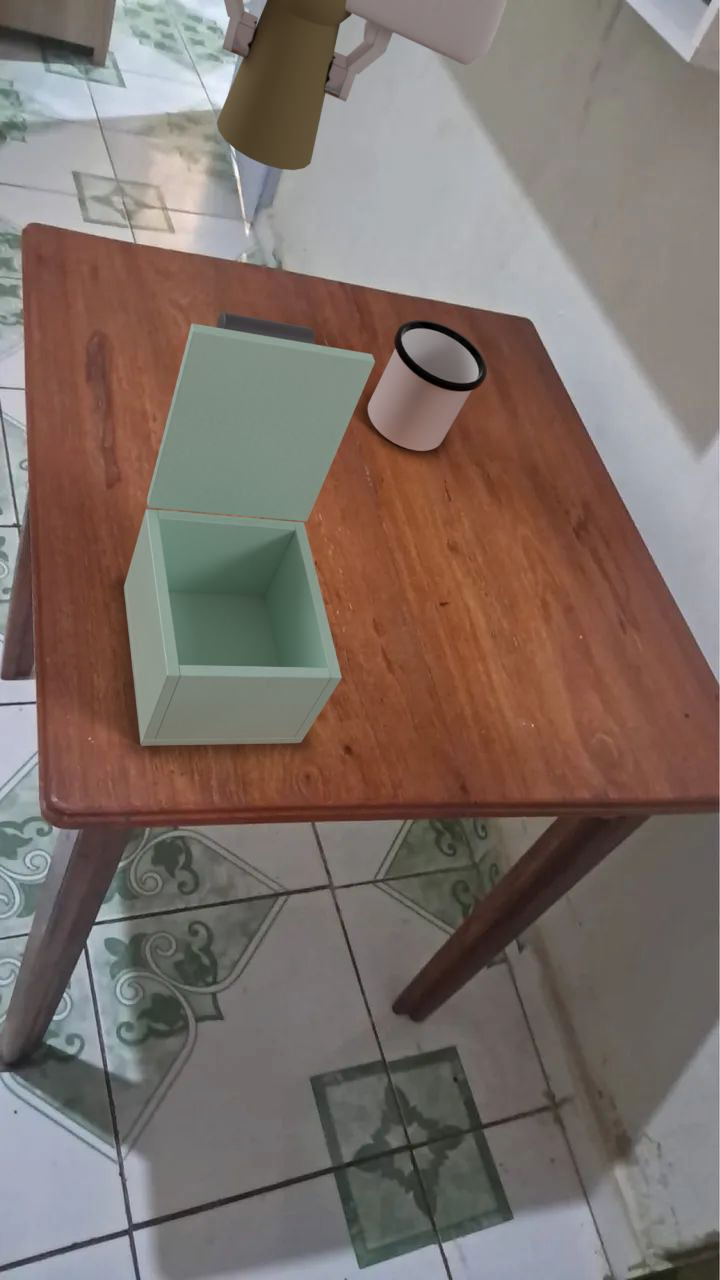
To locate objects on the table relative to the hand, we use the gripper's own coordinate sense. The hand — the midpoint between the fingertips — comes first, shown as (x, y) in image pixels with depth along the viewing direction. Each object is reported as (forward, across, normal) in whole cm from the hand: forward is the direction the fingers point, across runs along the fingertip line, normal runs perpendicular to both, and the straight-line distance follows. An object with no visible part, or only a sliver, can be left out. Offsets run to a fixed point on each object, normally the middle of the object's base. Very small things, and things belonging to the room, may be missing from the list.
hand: (284, 72), depth 55 cm
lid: (+17, -5, +11) cm, 21 cm away
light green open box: (+34, -7, +17) cm, 38 cm away
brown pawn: (+4, 0, 0) cm, 4 cm away
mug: (+33, -23, -18) cm, 45 cm away
